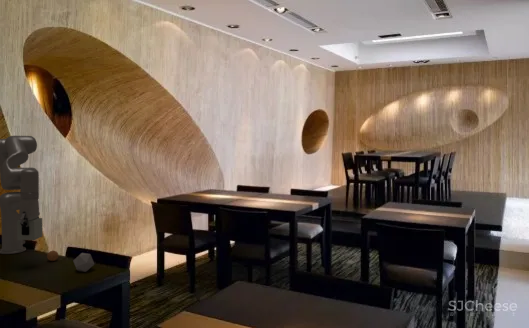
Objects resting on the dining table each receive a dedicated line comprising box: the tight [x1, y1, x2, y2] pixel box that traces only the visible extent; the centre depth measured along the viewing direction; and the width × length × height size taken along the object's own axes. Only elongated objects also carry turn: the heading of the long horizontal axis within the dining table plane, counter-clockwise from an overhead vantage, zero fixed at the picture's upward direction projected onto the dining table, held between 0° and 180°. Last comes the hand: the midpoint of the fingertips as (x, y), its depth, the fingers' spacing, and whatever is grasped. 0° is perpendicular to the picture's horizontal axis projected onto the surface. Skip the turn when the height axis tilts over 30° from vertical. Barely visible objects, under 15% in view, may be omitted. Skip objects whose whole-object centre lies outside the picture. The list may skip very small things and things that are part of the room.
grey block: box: [17, 217, 43, 241], centre depth 207 cm, size 8×8×9 cm
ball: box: [46, 250, 59, 262], centre depth 218 cm, size 5×5×5 cm
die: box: [72, 252, 95, 273], centre depth 203 cm, size 8×9×10 cm
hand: (30, 232), depth 207 cm, fingers closed on grey block, 7 cm apart
